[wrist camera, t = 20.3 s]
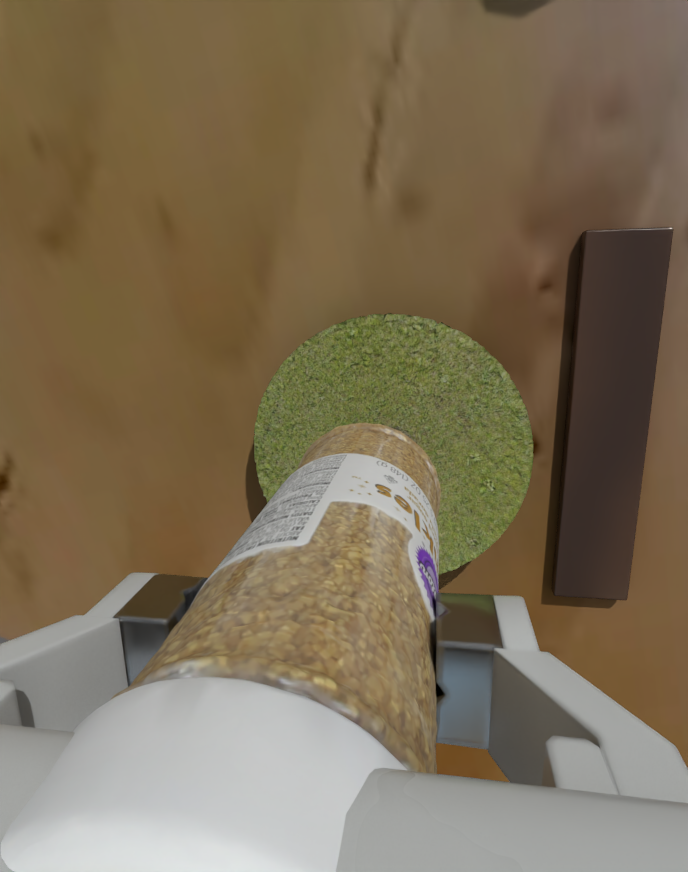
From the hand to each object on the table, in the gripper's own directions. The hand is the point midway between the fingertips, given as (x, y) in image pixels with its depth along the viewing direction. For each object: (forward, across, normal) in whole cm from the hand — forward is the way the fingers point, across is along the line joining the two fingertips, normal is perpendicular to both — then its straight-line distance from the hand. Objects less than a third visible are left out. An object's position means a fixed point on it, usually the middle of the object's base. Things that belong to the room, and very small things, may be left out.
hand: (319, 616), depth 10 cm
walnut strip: (+14, -9, 0) cm, 17 cm away
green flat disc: (+14, 0, 0) cm, 14 cm away
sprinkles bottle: (+7, 0, 0) cm, 7 cm away
